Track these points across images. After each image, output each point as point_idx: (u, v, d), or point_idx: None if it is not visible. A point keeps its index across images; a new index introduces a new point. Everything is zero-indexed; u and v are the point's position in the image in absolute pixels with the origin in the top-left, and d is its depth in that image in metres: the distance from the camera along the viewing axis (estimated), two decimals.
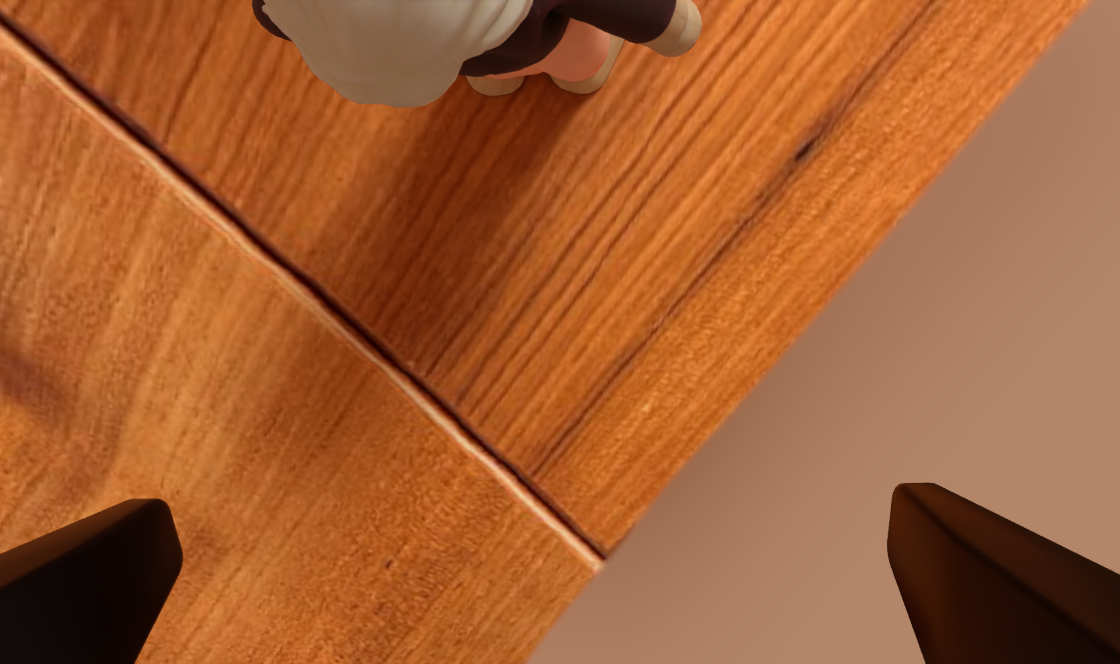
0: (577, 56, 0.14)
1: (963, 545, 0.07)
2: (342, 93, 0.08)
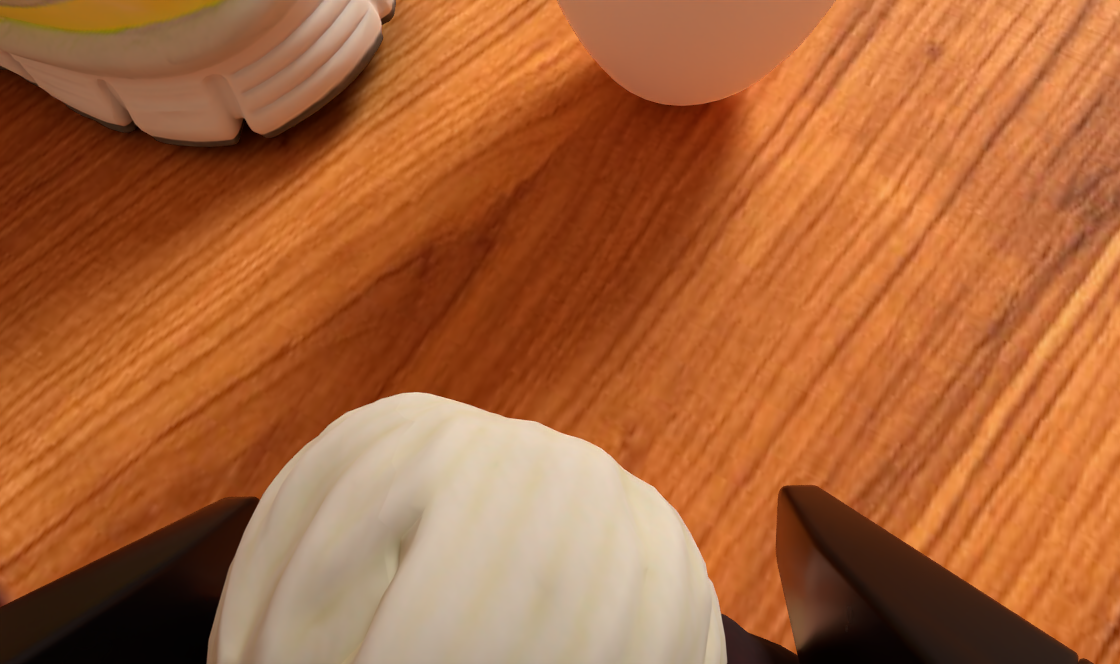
0: None
1: (820, 547, 0.07)
2: None
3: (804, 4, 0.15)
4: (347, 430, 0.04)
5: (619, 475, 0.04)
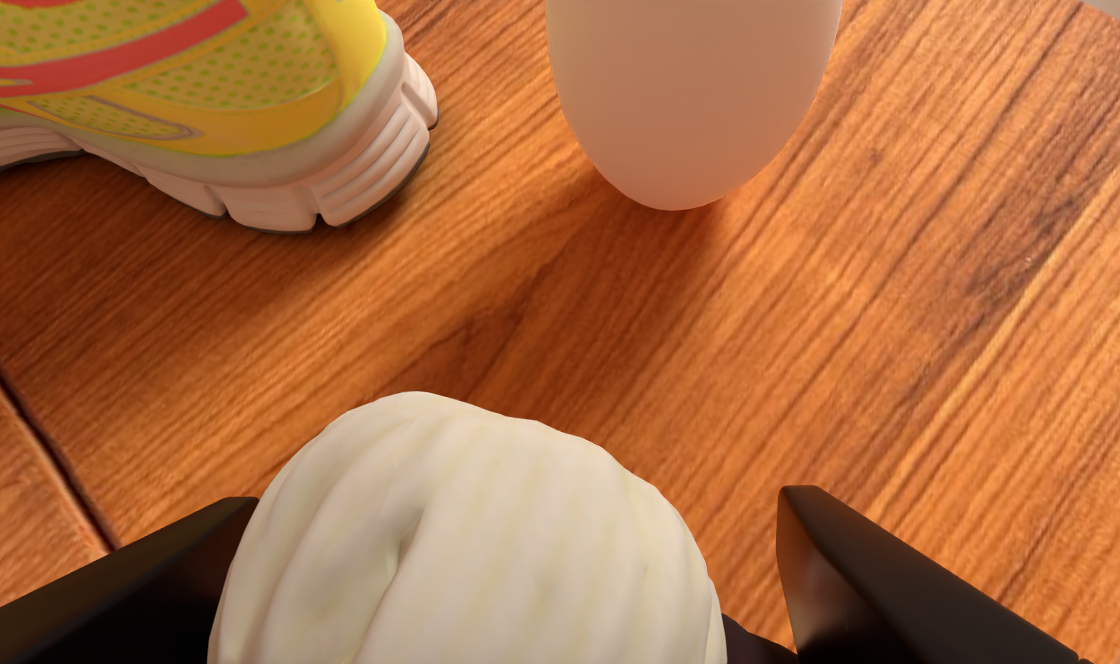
0: None
1: (820, 547, 0.07)
2: None
3: (761, 154, 0.20)
4: (347, 429, 0.04)
5: (619, 475, 0.04)
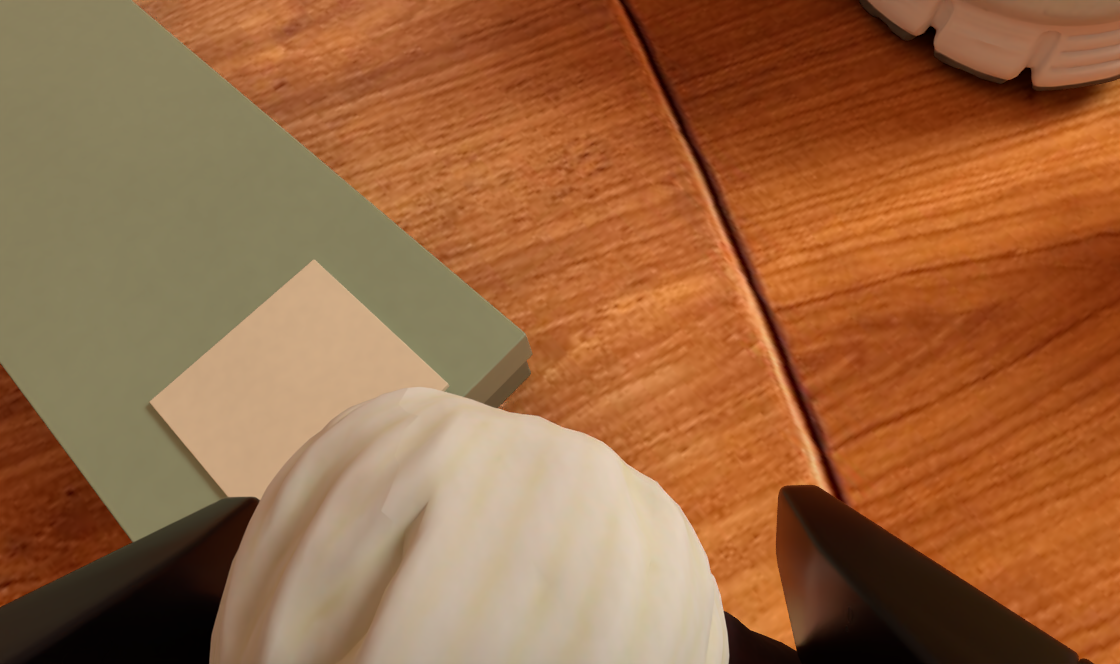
0: None
1: (820, 547, 0.07)
2: None
3: None
4: (350, 424, 0.04)
5: (621, 469, 0.04)
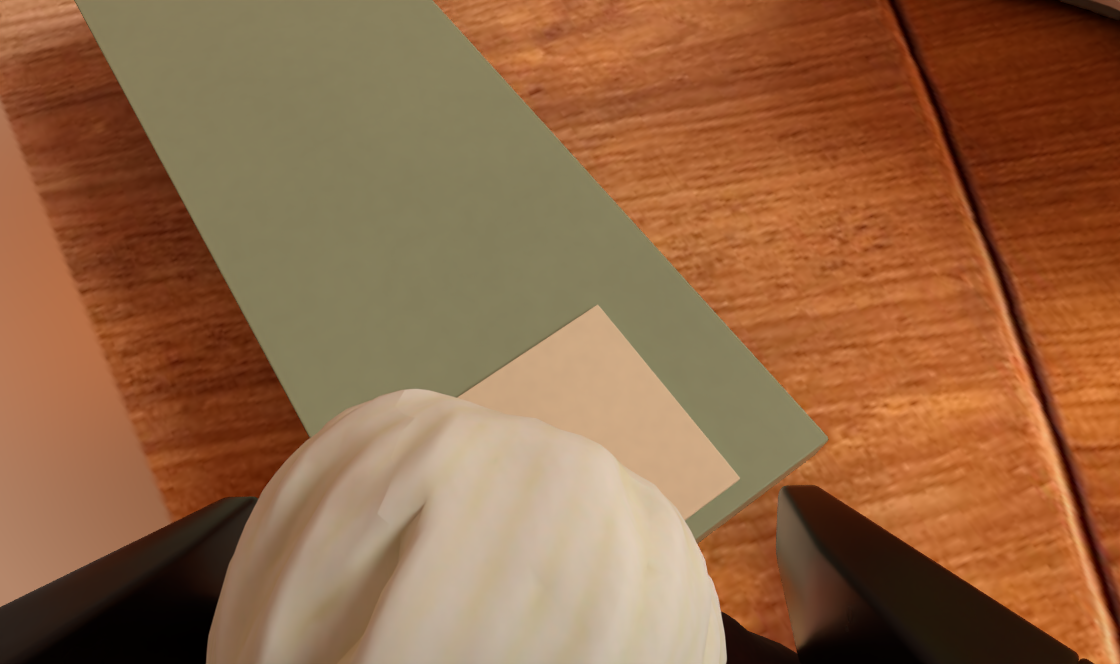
0: None
1: (820, 547, 0.07)
2: None
3: None
4: (347, 426, 0.04)
5: (619, 471, 0.04)
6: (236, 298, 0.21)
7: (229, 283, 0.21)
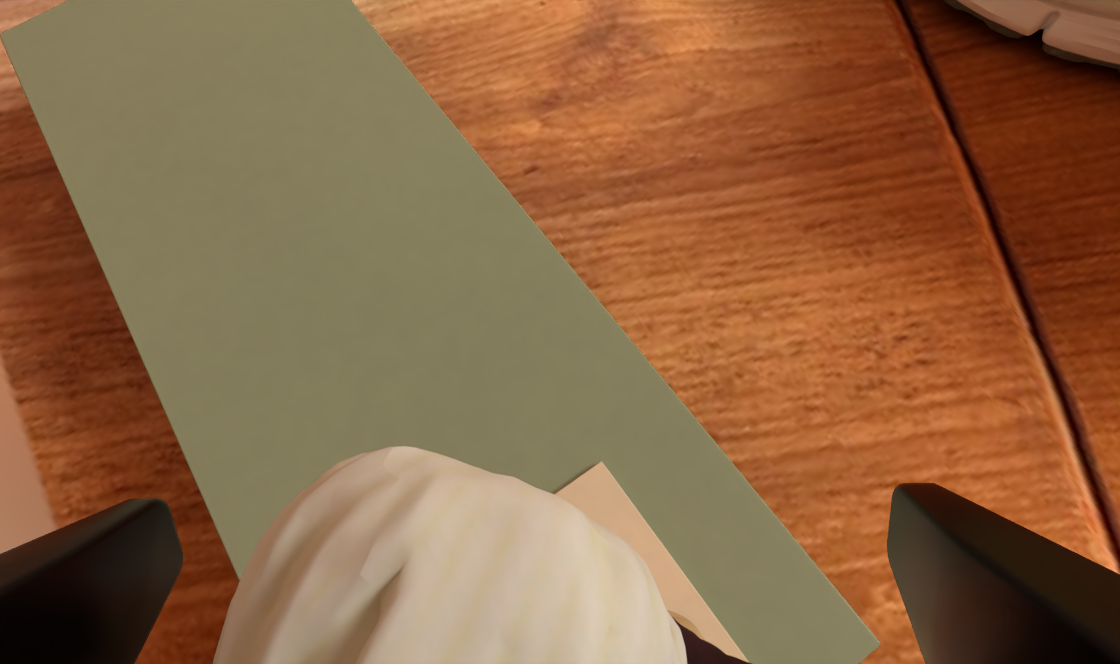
0: None
1: (963, 545, 0.07)
2: None
3: None
4: (337, 483, 0.04)
5: (588, 532, 0.04)
6: (179, 441, 0.18)
7: (172, 422, 0.18)
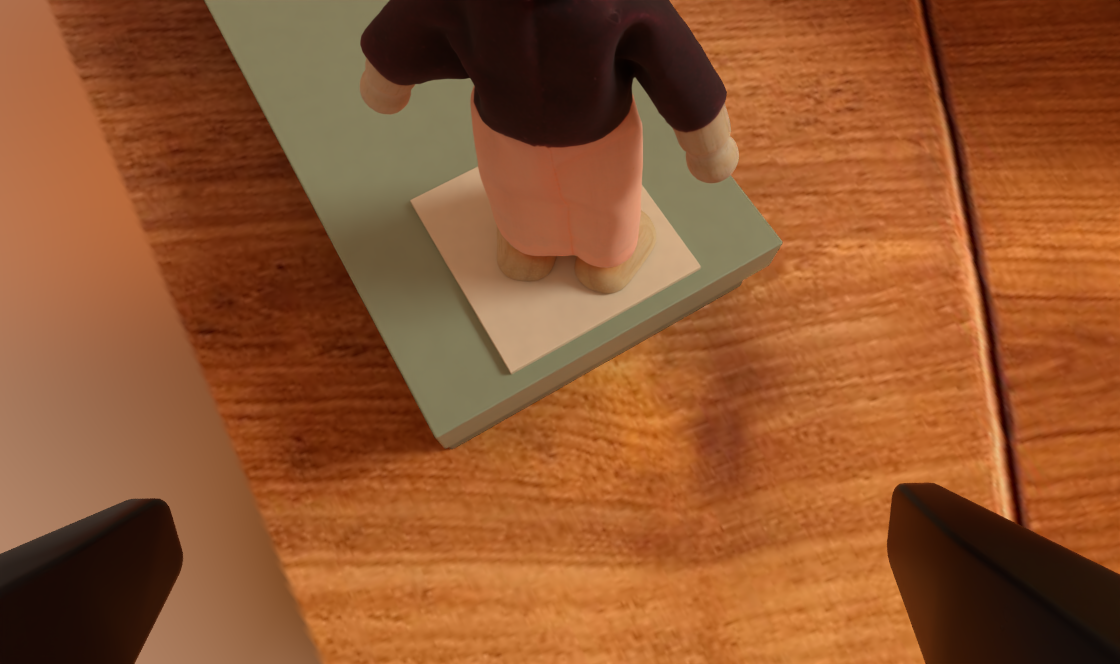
0: (617, 196, 0.15)
1: (963, 545, 0.07)
2: None
3: None
4: None
5: None
6: (246, 76, 0.22)
7: (239, 62, 0.22)
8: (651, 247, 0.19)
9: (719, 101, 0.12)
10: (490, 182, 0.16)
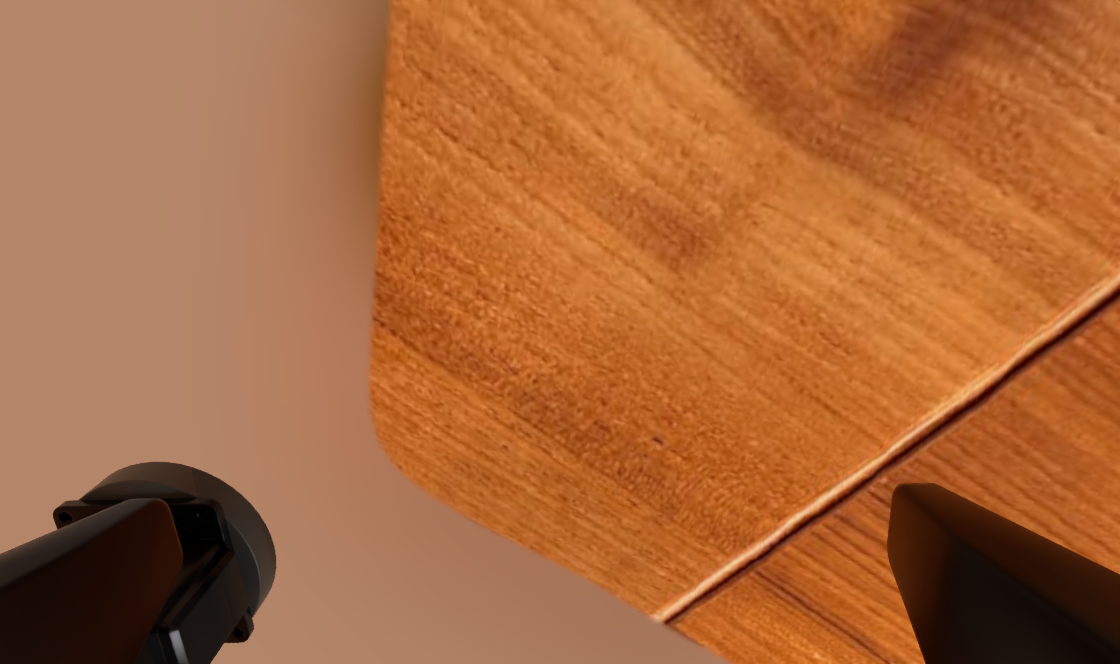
0: None
1: (963, 545, 0.07)
2: None
3: None
4: None
5: None
6: None
7: None
8: None
9: None
10: None
